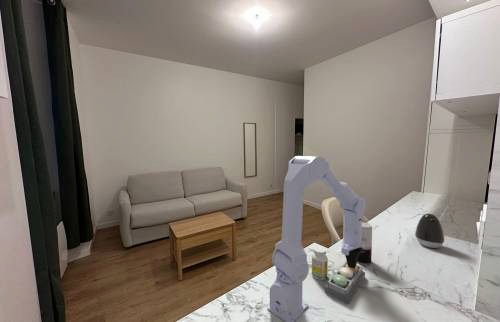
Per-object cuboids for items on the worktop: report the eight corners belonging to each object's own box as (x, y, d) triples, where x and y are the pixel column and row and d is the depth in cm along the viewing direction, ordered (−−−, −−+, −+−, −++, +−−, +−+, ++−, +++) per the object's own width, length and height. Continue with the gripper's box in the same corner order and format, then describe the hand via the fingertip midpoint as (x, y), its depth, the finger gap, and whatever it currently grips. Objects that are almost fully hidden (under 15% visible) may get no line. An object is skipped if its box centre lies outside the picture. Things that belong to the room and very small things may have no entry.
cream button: (350, 280, 64) (350, 275, 64) (337, 275, 66) (337, 270, 66) (354, 275, 66) (354, 270, 66) (342, 270, 69) (342, 265, 69)
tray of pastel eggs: (348, 304, 58) (348, 292, 58) (324, 292, 63) (325, 281, 63) (364, 277, 70) (365, 267, 70) (344, 269, 75) (344, 260, 75)
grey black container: (357, 254, 86) (357, 220, 85) (374, 261, 81) (374, 224, 80) (350, 259, 82) (350, 224, 81) (367, 267, 77) (368, 228, 76)
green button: (344, 289, 60) (344, 284, 60) (331, 283, 62) (331, 278, 62) (348, 282, 63) (349, 278, 62) (336, 277, 65) (336, 272, 65)
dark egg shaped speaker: (420, 248, 91) (421, 215, 90) (411, 239, 100) (412, 209, 100) (449, 252, 87) (450, 218, 86) (437, 242, 97) (438, 211, 96)
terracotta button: (355, 276, 68) (356, 271, 68) (343, 271, 70) (343, 266, 70) (359, 271, 70) (359, 266, 70) (347, 266, 73) (347, 262, 73)
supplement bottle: (315, 281, 68) (315, 253, 68) (309, 271, 74) (309, 246, 73) (330, 280, 69) (330, 253, 69) (323, 270, 74) (323, 245, 74)
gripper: (358, 239, 62) (357, 281, 62) (370, 226, 72) (369, 263, 73) (335, 232, 67) (334, 272, 67) (350, 221, 77) (349, 256, 78)
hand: (351, 266), depth 70 cm, fingers closed, pressing on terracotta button
